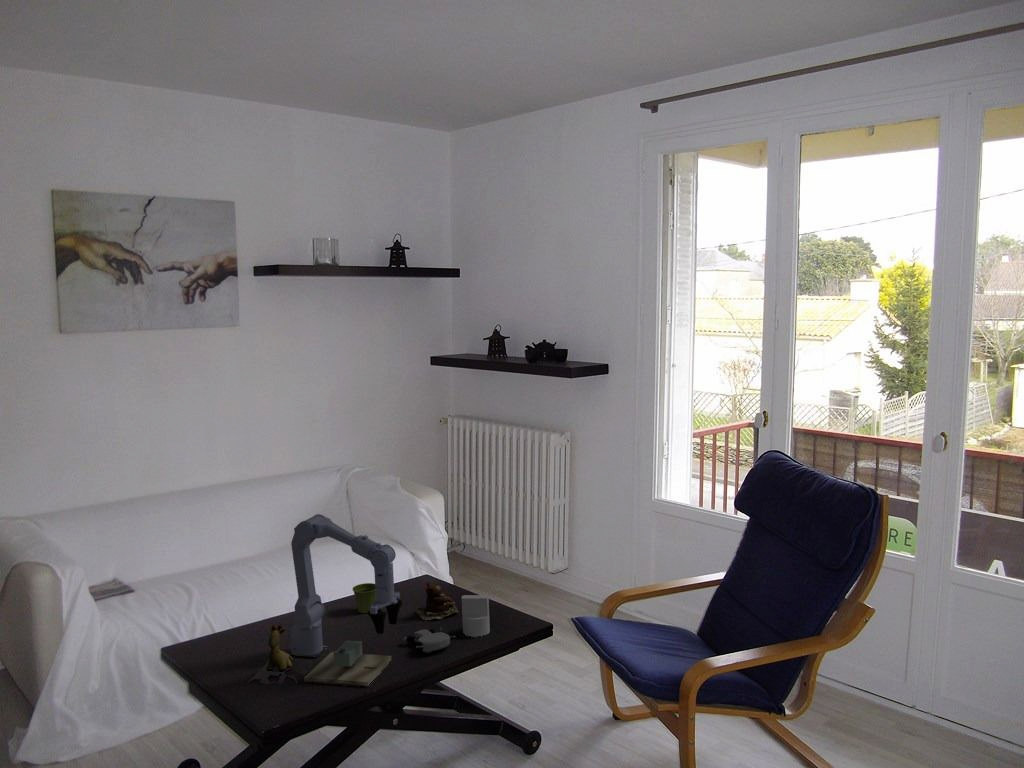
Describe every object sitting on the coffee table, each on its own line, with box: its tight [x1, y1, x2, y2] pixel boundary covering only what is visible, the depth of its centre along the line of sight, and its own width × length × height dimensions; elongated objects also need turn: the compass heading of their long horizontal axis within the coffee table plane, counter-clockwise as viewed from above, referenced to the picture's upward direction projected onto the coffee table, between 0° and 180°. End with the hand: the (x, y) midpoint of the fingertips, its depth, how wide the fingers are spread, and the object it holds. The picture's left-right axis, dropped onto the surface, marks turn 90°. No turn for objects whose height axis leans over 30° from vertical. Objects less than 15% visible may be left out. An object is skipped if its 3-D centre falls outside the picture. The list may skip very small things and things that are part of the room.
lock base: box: [304, 651, 392, 687], centre depth 245 cm, size 20×18×3 cm
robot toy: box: [402, 628, 456, 654], centre depth 261 cm, size 12×4×15 cm
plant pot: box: [352, 582, 376, 614], centre depth 294 cm, size 9×9×9 cm
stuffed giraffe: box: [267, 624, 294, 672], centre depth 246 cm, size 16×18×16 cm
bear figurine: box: [415, 582, 459, 622], centre depth 289 cm, size 14×15×12 cm
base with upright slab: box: [461, 594, 491, 638], centre depth 271 cm, size 9×9×12 cm
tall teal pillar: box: [333, 639, 363, 667], centre depth 244 cm, size 5×9×5 cm, turn 167°
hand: (386, 628), depth 251 cm, fingers open, 7 cm apart
